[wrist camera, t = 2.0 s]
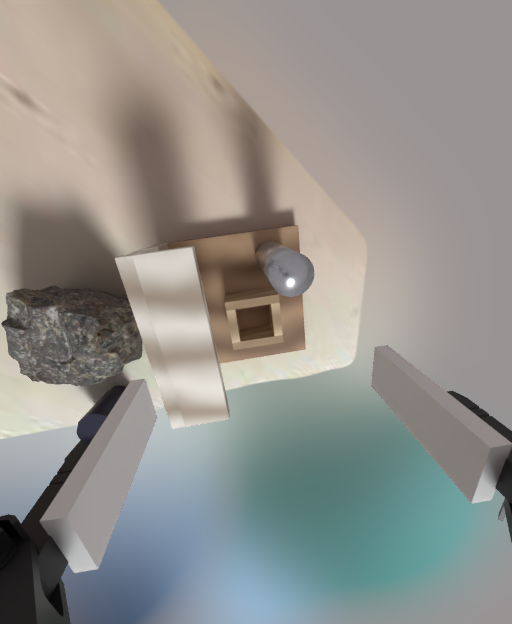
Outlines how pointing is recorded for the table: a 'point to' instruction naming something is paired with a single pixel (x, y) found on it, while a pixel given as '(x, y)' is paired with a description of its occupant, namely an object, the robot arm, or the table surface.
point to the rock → (70, 335)
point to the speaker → (96, 417)
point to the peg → (285, 268)
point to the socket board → (245, 275)
